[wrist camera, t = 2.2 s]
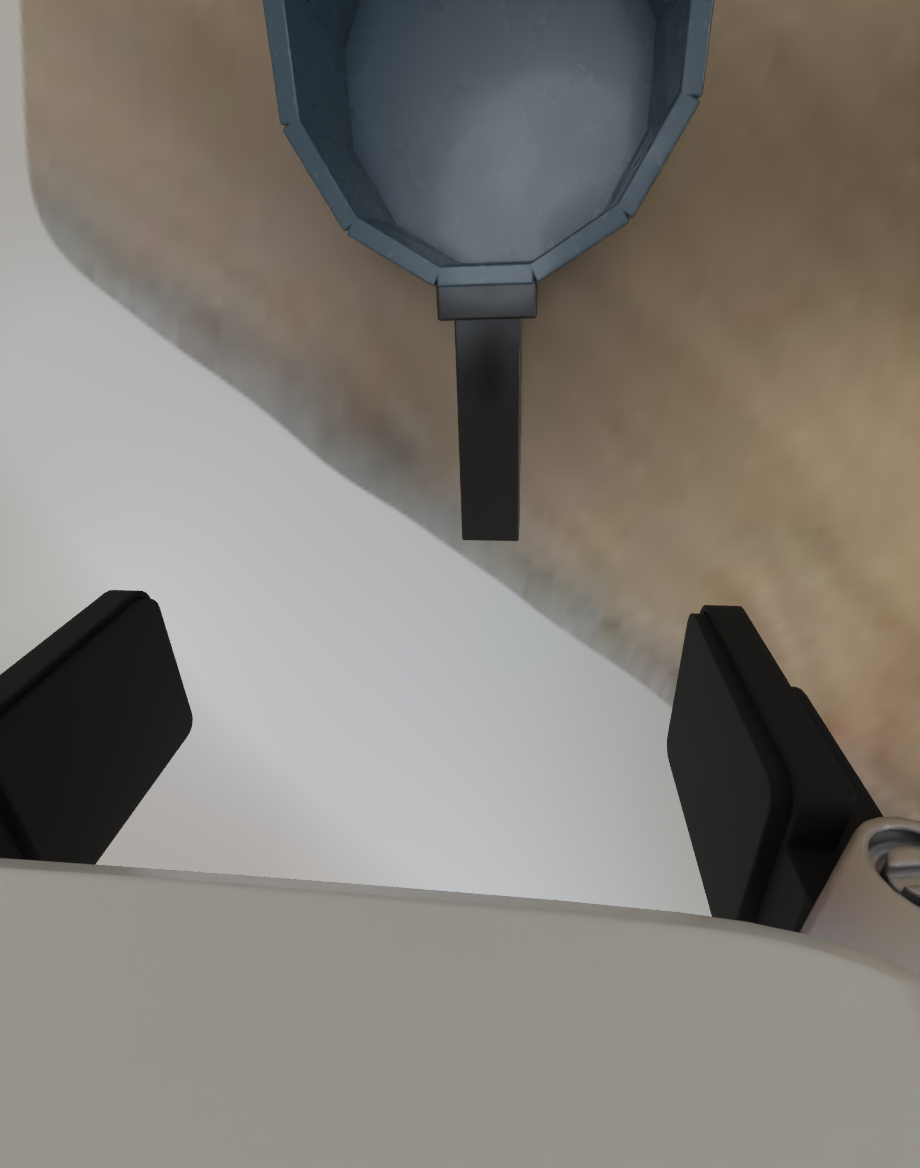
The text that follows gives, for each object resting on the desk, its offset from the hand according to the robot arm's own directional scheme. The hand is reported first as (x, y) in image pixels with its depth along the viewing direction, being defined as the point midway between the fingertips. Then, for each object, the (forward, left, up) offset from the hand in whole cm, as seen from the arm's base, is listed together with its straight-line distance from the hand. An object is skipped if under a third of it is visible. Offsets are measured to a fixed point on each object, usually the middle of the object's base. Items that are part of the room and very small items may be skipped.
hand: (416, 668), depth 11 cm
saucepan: (0, -7, -18) cm, 20 cm away
